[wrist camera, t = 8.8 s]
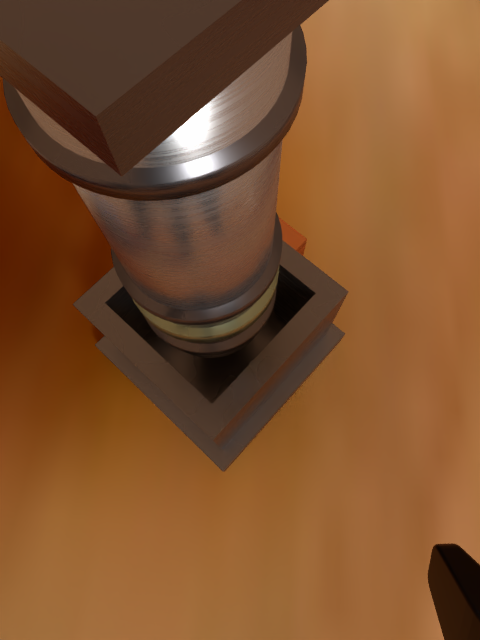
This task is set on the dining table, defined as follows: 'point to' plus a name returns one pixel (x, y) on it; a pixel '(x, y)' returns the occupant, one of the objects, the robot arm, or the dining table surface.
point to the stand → (227, 371)
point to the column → (168, 143)
